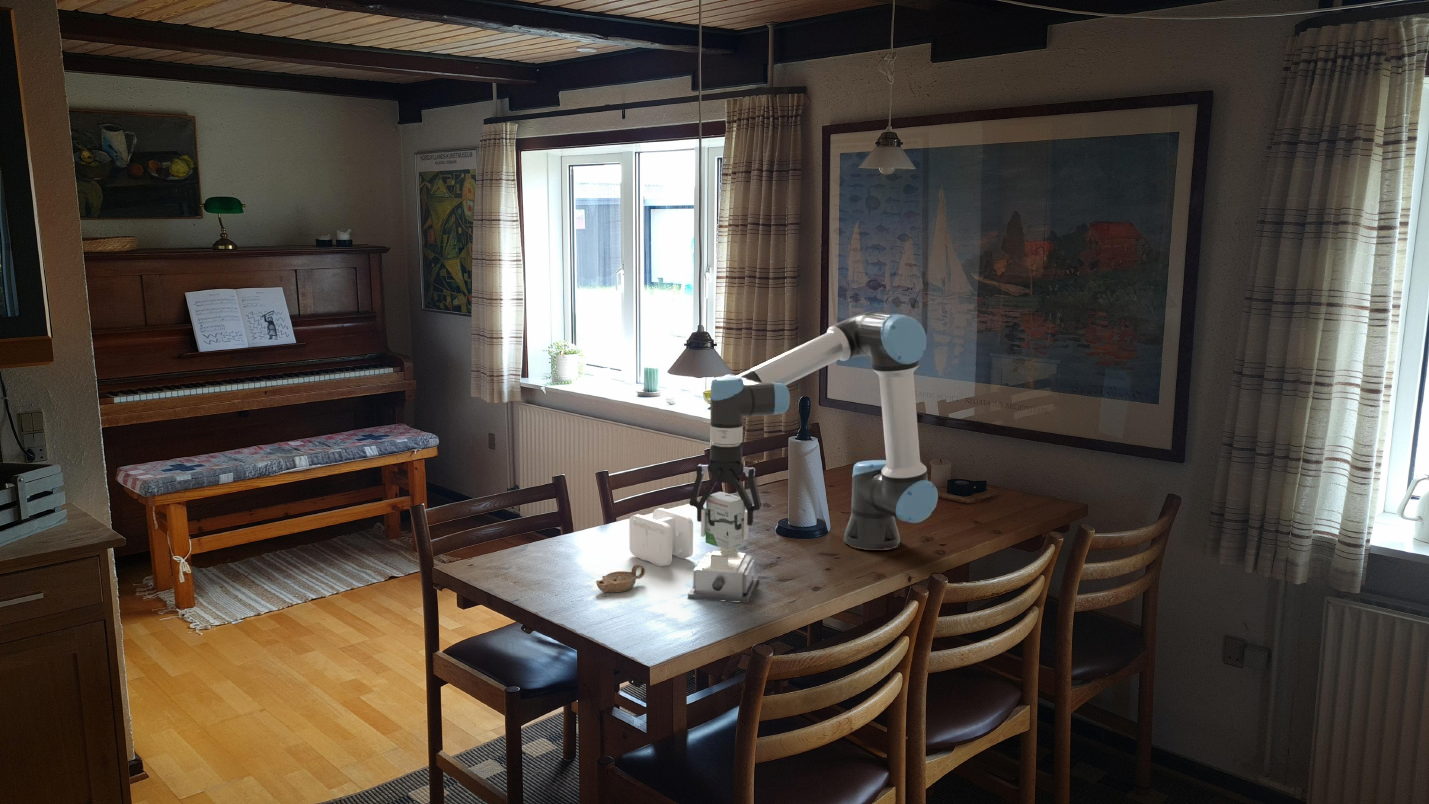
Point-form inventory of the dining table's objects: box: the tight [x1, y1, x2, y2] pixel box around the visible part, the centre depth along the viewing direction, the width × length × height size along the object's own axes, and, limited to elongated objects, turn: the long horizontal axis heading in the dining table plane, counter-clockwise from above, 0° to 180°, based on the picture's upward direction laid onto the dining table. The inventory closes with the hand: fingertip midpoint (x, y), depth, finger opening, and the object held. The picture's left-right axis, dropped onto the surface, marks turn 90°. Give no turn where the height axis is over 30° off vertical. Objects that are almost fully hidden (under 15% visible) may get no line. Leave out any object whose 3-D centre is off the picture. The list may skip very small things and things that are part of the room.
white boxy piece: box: [687, 548, 759, 603], centre depth 233 cm, size 14×16×10 cm
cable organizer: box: [628, 507, 694, 567], centre depth 254 cm, size 15×11×12 cm
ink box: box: [705, 491, 746, 551], centre depth 231 cm, size 9×5×12 cm, turn 44°
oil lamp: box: [595, 563, 646, 593], centre depth 233 cm, size 13×8×5 cm, turn 125°
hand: (724, 536), depth 232 cm, fingers closed on ink box, 9 cm apart
